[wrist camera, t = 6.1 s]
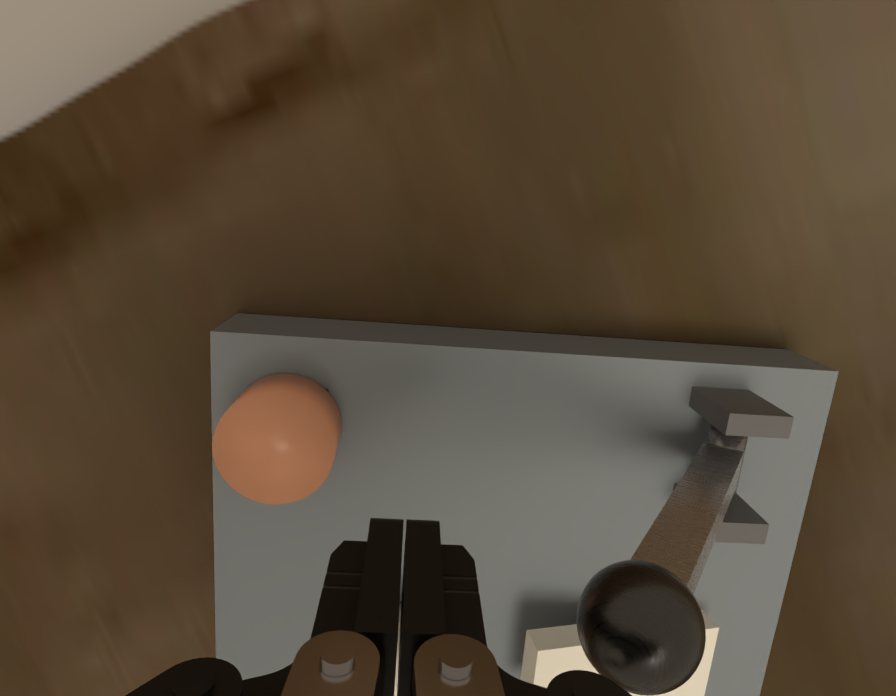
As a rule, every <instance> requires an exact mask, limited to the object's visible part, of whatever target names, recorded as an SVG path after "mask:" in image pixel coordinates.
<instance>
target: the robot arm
mask: <svg viewBox="0 0 896 696" xmlns="http://www.w3.org/2000/svg"><path fill="white" fill-rule="evenodd" d="M403 523H404V519H387V518H371V519H370V525H369V532H368V539H367V541H347V540H344V541H343V542H342V543H341V544H340V545H339V546H338V547H337V548H336V549H335V550H334V551H333V552H332V554H331V555H330V560H329V564H328V568H327V574H326V576H325V580H324V584H323V588H322V593H321V597H320V601H319V605H318V609H317V613H316V617H315V622H314V626H313V630H312V634H311V638H310V640H308V641H307V642H306V643H305V644H303V645H302V646H301V648H300V649H299V650H298V652H297V654H296V656H295V659H294V661H293V663H291V664H290V665H288V666H287V667H285V668H283V669H281V670H279V671H276V672H274V673H270V674H267V675H263V676H258V677H254V678H250V679H245V680H242V676H241V674H240V672H239V670H238V669H237V668H236V667H235V666H234V665H232V664H231V663H229V662H227V661H225V660H222V659H217V658H197V659H192V660H188V661H185V662H182V663H180V664H177V665H175V666H173V667H171V668H169V669H168V670H166V671H164V672H163V673H161V674H160V675H158V676H156V677H155V678H153V679H151V680H150V681H148V682H147V683H145V684H143V685H142V686H140V687H139V688H137V689H135V690H134V691H132V692H130V693H129V694H127V695H126V696H394V689H395V673H396V658H397V642H398V625H399V604H400V584H401V564H402V543H403ZM397 696H632V695H631V694H630V693H628V692H627V691H626V690H624V689H623V688H622V687H620V686H619V685H618V684H616V683H615V682H613V681H612V680H610V679H609V678H607V677H605V676H603V675H600V674H597V673H594V672H590V671H584V670H571V671H566V672H563V673H561V674H559V675H557V676H555V677H554V678H553V679H552V680H551V682H550V683H549V684H548V687H547V688H545V687H541V686H538V685H535V684H531V683H528V682H525V681H522V680H519V679H517V678H515V677H513V676H511V675H510V674H508V673H507V672H505V671H504V670H503V669H501V668H500V667H499V666H498V665H497V662H496V659H495V657H494V655H493V654H492V652H491V651H490V650H489V649H488V648H487V643H486V636H485V629H484V622H483V615H482V608H481V601H480V594H479V588H478V581H477V574H476V567H475V560H474V559H473V557H472V556H471V555H470V554H469V552H468V551H467V550H466V549H465V547H464V546H463V545H445V544H441V537H440V522H439V521H435V520H412V519H407V521H406V535H405V550H404V566H403V581H402V598H401V617H400V639H399V661H398V683H397Z"/></svg>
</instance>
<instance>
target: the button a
mask: <svg viewBox="0 0 896 696" xmlns="http://www.w3.org/2000/svg"><path fill="white" fill-rule="evenodd" d="M341 433H342V420H341V414H340V411H339V408H338V406H337V404H336V402H335V401H334V399H333V398H332V396H331V395H330V394H329V393H328V391H327V389H324V388H323V387H322V386H321V385H319V384H318V383H316V382H315V381H313V380H311V379H309V378H306V377H304V376H300V375H296V374H289V373H280V374H273V375H269V376H265V377H263V378H260V379H259V380H257V381H255V382H253V383H252V384H251V385H249V386H248V387H247V388H246V389H245V390H244V391H243V392H242V393H241V395H240V396H239V397H238V398H237V399H236V400H235V401H234V403H233V404H232V405H231V406H230V407H229V408H228V410H227V411H226V412H225V413H224V414H223V416H222V417H221V418H220V420H219V422H218V424H217V426H216V428H215V431H214V435H213V441H212V450H213V457H214V461H215V464H216V467H217V469H218V471H219V473H220V474H221V476H222V477H223V479H224V480H225V481H226V482H227V483H228V484H229V486H230V487H232V488H233V489H234V490H235V491H236V492H238V493H239V494H241V495H243V496H244V497H247V498H249V499H251V500H254V501H257V502H260V503H265V504H287V503H292V502H296V501H298V500H301V499H303V498H305V497H307V496H309V495H310V494H312V493H313V492H314V491H316V490H317V489H318V488H319V487H320V486H321V485H322V483H323V482H324V481H325V480H326V478H327V476H328V475H329V472H330V470H331V468H332V464H333V461H334V458H335V455H336V452H337V448H338V445H339V442H340V438H341Z"/></svg>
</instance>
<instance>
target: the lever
mask: <svg viewBox="0 0 896 696" xmlns="http://www.w3.org/2000/svg"><path fill="white" fill-rule="evenodd" d="M747 440H748V437H747V436H729V435H724V434H723V433H722V432H721V431H719V430H718V429H717V428H716V427H714V426H713V425H712V424H711V423H710V425H709V430H708V435H707V440H706V442H704V443H703V445H702V446H701V448H700V449H699V451H698V453H697V454H696V456H695V457H694V459H693V461H692V462H691V464H690V465H689V467H688V469H687V470H686V472H685V473H684V475H683V476H682V478H681V480H680V481H679V483H678V484H677V486H676V488H675V489H674V491H673V492H672V494H671V496H670V497H669V499H668V500H667V502H666V504H665V505H664V507H663V508H662V510H661V511H660V513H659V515H658V516H657V518H656V519H655V521H654V523H653V524H652V526H651V527H650V529H649V531H648V532H647V534H646V535H645V537H644V538H643V540H642V542H641V543H640V545H639V546H638V548H637V550H636V551H635V553H634V554H633V556H632V558H631V559H630V560H625V561H620V562H616V563H613V564H611V565H608V566H606V567H605V568H603V569H601V570H600V571H599V572H597V573H596V574H595V575H594V576H593V577H592V578H591V579H590V581H589V582H588V583H587V585H586V586H585V588H584V590H583V592H582V594H581V596H580V599H579V603H578V607H577V617H576V623H577V631H578V637H579V640H580V644H581V646H582V648H583V651H584V653H585V655H586V657H587V659H588V660H589V662H590V663H591V665H592V666H593V667H594V668H595V670H596V671H597V672H598V673H599V674H600V675H603V676H605V677H607V678H609V679H610V680H612V681H613V682H615V683H616V684H618V685H619V686H620V687H622V688H623V689H624V690H626V691H627V692H630V693H633V694H638V695H647V696H651V695H660V694H665V693H668V692H670V691H673V690H675V689H677V688H678V687H680V686H681V685H683V684H684V683H685V682H687V681H688V680H689V679H690V678H691V676H692V675H693V674H694V672H695V671H696V670H697V668H698V666H699V664H700V662H701V660H702V657H703V654H704V649H705V642H706V631H705V623H704V618H703V615H702V612H701V609H700V606H699V604H698V602H697V600H696V599H695V597H694V592H695V590H696V587H697V585H698V582H699V580H700V577H701V574H702V572H703V569H704V567H705V564H706V562H707V559H708V557H709V554H710V552H711V549H712V547H713V544H714V542H715V539H716V537H717V534H718V532H719V529H720V527H721V524H722V522H723V519H724V517H725V514H726V512H727V509H728V507H729V504H730V502H731V499H732V497H734V496H735V495H736V492H737V487H738V483H739V478H740V473H741V468H742V464H743V459H744V454H745V450H746V445H747Z"/></svg>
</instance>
